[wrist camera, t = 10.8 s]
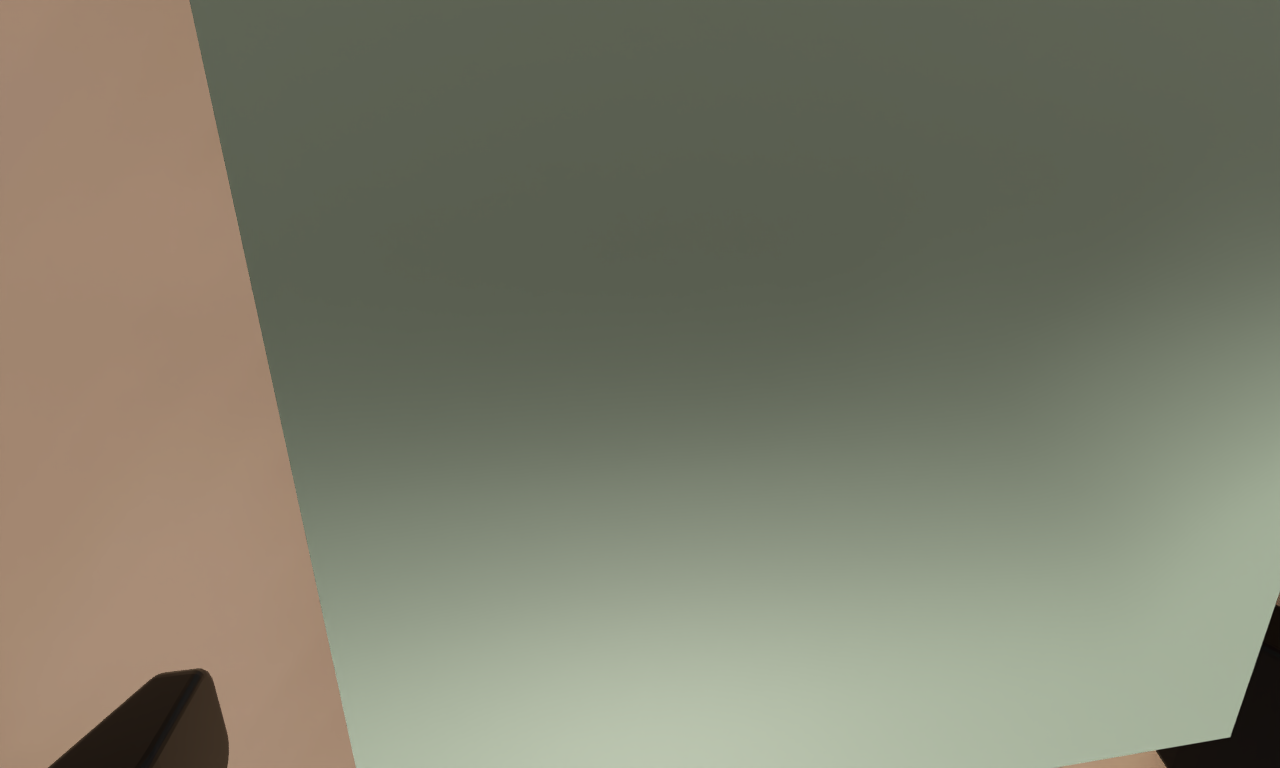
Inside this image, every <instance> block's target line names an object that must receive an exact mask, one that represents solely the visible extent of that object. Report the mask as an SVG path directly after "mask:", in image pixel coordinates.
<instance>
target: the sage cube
mask: <svg viewBox="0 0 1280 768" xmlns="http://www.w3.org/2000/svg"><path fill="white" fill-rule="evenodd" d="M190 5H191V9H192V14H193V18H194V23H195V28H196V32H197V37H198V41H199V46H200V51H201V55H202V60H203V64H204V69H205V74H206V78H207V83H208V88H209V92H210V97H211V101H212V106H213V111H214V115H215V120H216V124H217V129H218V134H219V138H220V143H221V147H222V152H223V157H224V161H225V166H226V170H227V175H228V180H229V184H230V189H231V194H232V198H233V203H234V207H235V212H236V217H237V221H238V226H239V230H240V235H241V240H242V244H243V249H244V253H245V258H246V263H247V267H248V272H249V276H250V281H251V286H252V290H253V295H254V300H255V304H256V309H257V313H258V318H259V323H260V327H261V332H262V336H263V341H264V346H265V350H266V355H267V359H268V364H269V369H270V373H271V378H272V382H273V387H274V392H275V396H276V401H277V406H278V410H279V415H280V419H281V424H282V429H283V433H284V438H285V442H286V447H287V452H288V456H289V461H290V465H291V470H292V475H293V479H294V484H295V488H296V493H297V498H298V502H299V507H300V512H301V516H302V521H303V525H304V530H305V535H306V539H307V544H308V548H309V553H310V558H311V562H312V567H313V571H314V576H315V581H316V585H317V590H318V594H319V599H320V604H321V608H322V613H323V618H324V622H325V627H326V631H327V636H328V641H329V645H330V650H331V654H332V659H333V664H334V668H335V673H336V677H337V682H338V687H339V691H340V696H341V700H342V705H343V710H344V714H345V719H346V724H347V728H348V733H349V737H350V742H351V747H352V751H353V756H354V760H355V765H356V768H1056V767H1062V766H1067V765H1073V764H1079V763H1085V762H1090V761H1096V760H1102V759H1108V758H1113V757H1119V756H1125V755H1131V754H1136V753H1142V752H1148V751H1154V750H1159V749H1165V748H1171V747H1177V746H1182V745H1188V744H1194V743H1200V742H1205V741H1211V740H1217V739H1222V738H1228V737H1230V736H1231V733H1232V730H1233V727H1234V724H1235V722H1236V719H1237V716H1238V713H1239V710H1240V707H1241V704H1242V701H1243V698H1244V695H1245V692H1246V689H1247V686H1248V683H1249V680H1250V678H1251V675H1252V672H1253V669H1254V666H1255V663H1256V660H1257V657H1258V654H1259V651H1260V648H1261V645H1262V642H1263V639H1264V636H1265V633H1266V631H1267V628H1268V625H1269V622H1270V619H1271V616H1272V613H1273V610H1274V607H1275V604H1276V601H1277V598H1278V595H1279V592H1280V0H190Z"/></svg>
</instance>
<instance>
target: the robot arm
mask: <svg viewBox="0 0 1280 768" xmlns="http://www.w3.org/2000/svg"><path fill="white" fill-rule="evenodd" d="M1156 752H1157V753H1158V755H1159V756H1160V758H1161V759H1162V761H1163V763H1164V764H1165V766H1166V767H1167V768H1280V606H1277V605H1275V607H1274V610H1273V613H1272V616H1271V619H1270V622H1269V625H1268V628H1267V631H1266V633H1265V636H1264V639H1263V642H1262V645H1261V648H1260V651H1259V654H1258V657H1257V660H1256V663H1255V666H1254V669H1253V672H1252V675H1251V678H1250V680H1249V683H1248V686H1247V689H1246V692H1245V695H1244V698H1243V701H1242V704H1241V707H1240V710H1239V713H1238V716H1237V719H1236V722H1235V724H1234V727H1233V730H1232V733H1231V736H1230V737H1228V738H1222V739H1217V740H1211V741H1205V742H1200V743H1194V744H1188V745H1182V746H1177V747H1171V748H1165V749H1159V750H1156ZM228 756H229V742H228V735H227V731H226V727H225V723H224V719H223V716H222V712H221V708H220V704H219V701H218V697H217V693H216V689H215V686H214V682H213V679H212V677H211V676H210V674H209V673H208V672H207V671H206V670H203V669H199V668H198V669H190V670H181V671H173V672H165V673H161V674H158V675H156V676H155V677H153V678H152V679H150V680H149V681H148V682H147V683H146V684H145V685H143V686H142V687H141V688H140V689H139V690H138V691H136V692H135V693H134V694H133V695H132V696H131V697H129V698H128V699H127V700H126V701H125V702H124V703H123V704H121V705H120V706H119V707H118V708H117V709H116V710H114V711H113V712H112V713H111V714H110V715H109V716H107V717H106V718H105V719H104V720H103V721H102V722H100V723H99V724H98V725H97V726H96V727H95V728H94V729H92V730H91V731H90V732H89V733H88V734H87V735H85V736H84V737H83V738H82V739H81V740H80V741H78V742H77V743H76V744H75V745H74V746H73V747H72V748H70V749H69V750H68V751H67V752H66V753H65V754H63V755H62V756H61V757H60V758H59V759H58V760H56V761H55V762H54V763H53V764H52V765H51V766H49V767H48V768H227V765H228Z"/></svg>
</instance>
